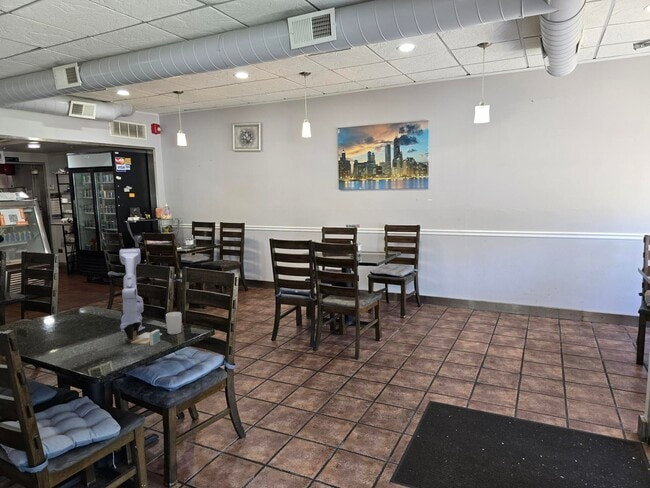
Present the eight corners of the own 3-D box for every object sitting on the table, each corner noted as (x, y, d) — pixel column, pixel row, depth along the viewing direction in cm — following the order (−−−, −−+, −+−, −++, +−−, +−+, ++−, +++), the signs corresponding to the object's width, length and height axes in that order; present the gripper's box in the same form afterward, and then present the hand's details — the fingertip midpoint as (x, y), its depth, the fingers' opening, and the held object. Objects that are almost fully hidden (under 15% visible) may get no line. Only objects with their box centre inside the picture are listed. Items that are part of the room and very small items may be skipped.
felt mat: (135, 338, 217) (135, 337, 217) (145, 333, 225) (145, 332, 225) (153, 339, 215) (153, 338, 215) (162, 334, 223) (162, 333, 223)
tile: (150, 345, 207) (149, 333, 206) (157, 341, 213) (156, 329, 212) (153, 345, 206) (152, 333, 206) (160, 341, 212) (159, 329, 212)
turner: (126, 342, 210) (125, 332, 210) (133, 338, 216) (133, 329, 215) (145, 344, 208) (145, 334, 208) (152, 340, 214) (152, 330, 214)
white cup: (169, 335, 220) (168, 316, 219) (164, 332, 227) (163, 313, 225) (184, 332, 225) (183, 314, 224) (179, 329, 231) (178, 311, 230)
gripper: (128, 316, 203) (130, 343, 205) (146, 308, 217) (148, 333, 219) (115, 315, 205) (117, 342, 206) (134, 307, 219) (135, 333, 220)
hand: (132, 338), depth 213 cm, fingers closed on turner, 3 cm apart
